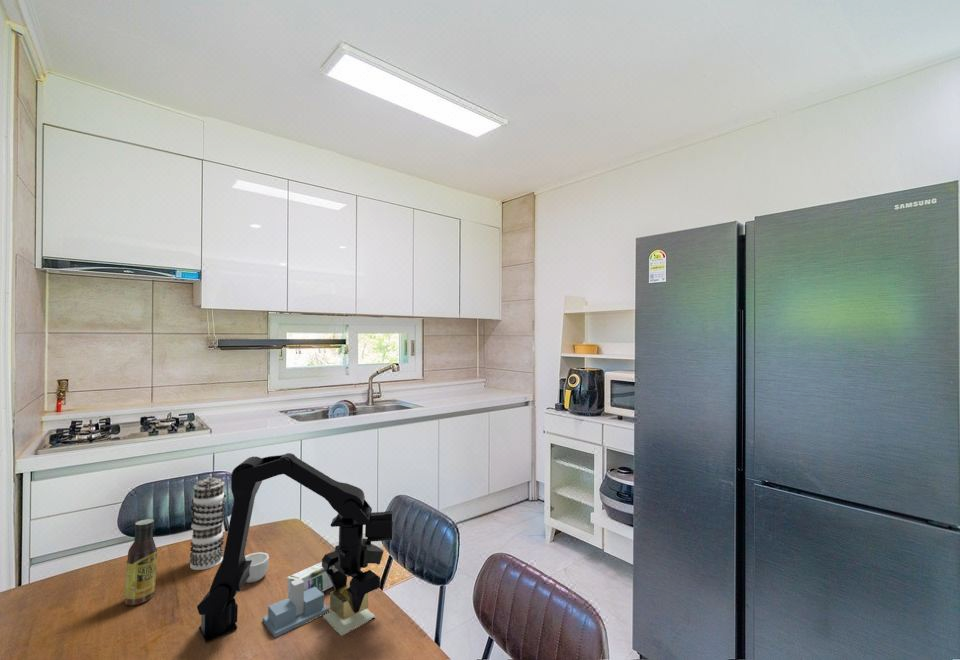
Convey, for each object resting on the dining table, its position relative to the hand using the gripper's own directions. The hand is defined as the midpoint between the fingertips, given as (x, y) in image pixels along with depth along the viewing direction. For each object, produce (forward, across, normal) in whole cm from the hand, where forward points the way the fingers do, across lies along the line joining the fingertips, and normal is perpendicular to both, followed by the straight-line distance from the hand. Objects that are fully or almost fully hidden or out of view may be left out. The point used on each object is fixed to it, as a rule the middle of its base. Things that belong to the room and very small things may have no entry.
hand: (349, 605), depth 105 cm
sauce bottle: (+3, +44, +35) cm, 57 cm away
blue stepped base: (+3, +9, +9) cm, 13 cm away
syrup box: (0, +17, -7) cm, 19 cm away
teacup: (+3, +35, +10) cm, 37 cm away
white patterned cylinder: (+3, +53, +18) cm, 56 cm away
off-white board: (+3, 0, 0) cm, 3 cm away
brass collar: (+1, 0, 0) cm, 1 cm away
